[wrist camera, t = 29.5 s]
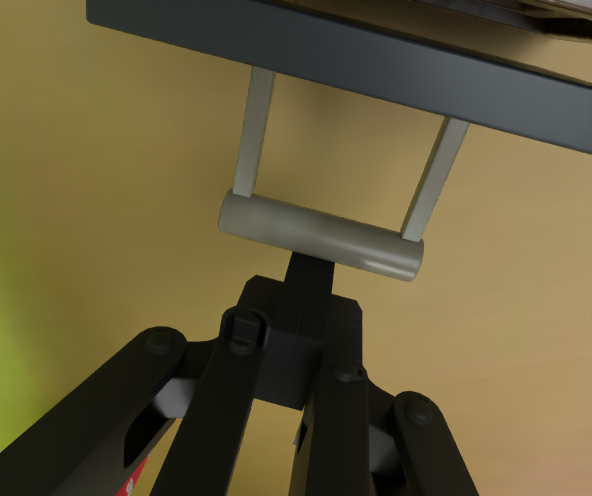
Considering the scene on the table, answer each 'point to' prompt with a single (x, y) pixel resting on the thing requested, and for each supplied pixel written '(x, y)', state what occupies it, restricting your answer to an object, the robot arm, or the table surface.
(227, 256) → the table surface
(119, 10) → the drawer
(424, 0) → the cabinet
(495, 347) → the table surface
